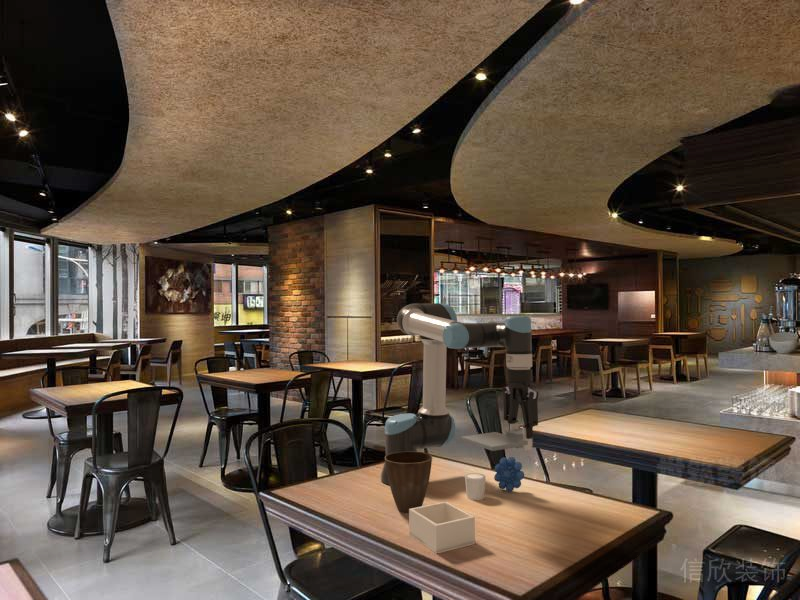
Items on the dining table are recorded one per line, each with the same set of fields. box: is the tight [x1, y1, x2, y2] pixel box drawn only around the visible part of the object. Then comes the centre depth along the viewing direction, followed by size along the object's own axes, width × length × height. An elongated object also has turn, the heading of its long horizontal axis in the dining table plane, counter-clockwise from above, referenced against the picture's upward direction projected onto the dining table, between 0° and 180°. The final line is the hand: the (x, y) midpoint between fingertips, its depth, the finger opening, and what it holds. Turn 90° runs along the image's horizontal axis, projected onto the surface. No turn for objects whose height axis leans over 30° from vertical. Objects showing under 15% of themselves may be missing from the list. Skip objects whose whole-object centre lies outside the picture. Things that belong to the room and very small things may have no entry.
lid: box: [460, 428, 534, 452], centre depth 158 cm, size 15×19×4 cm
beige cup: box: [464, 472, 486, 501], centre depth 181 cm, size 7×7×7 cm
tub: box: [408, 501, 476, 555], centre depth 147 cm, size 14×12×7 cm
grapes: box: [493, 456, 525, 493], centre depth 187 cm, size 12×7×12 cm, turn 47°
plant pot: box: [384, 451, 433, 513], centre depth 171 cm, size 15×15×16 cm
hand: (520, 447), depth 161 cm, fingers closed on lid, 5 cm apart
